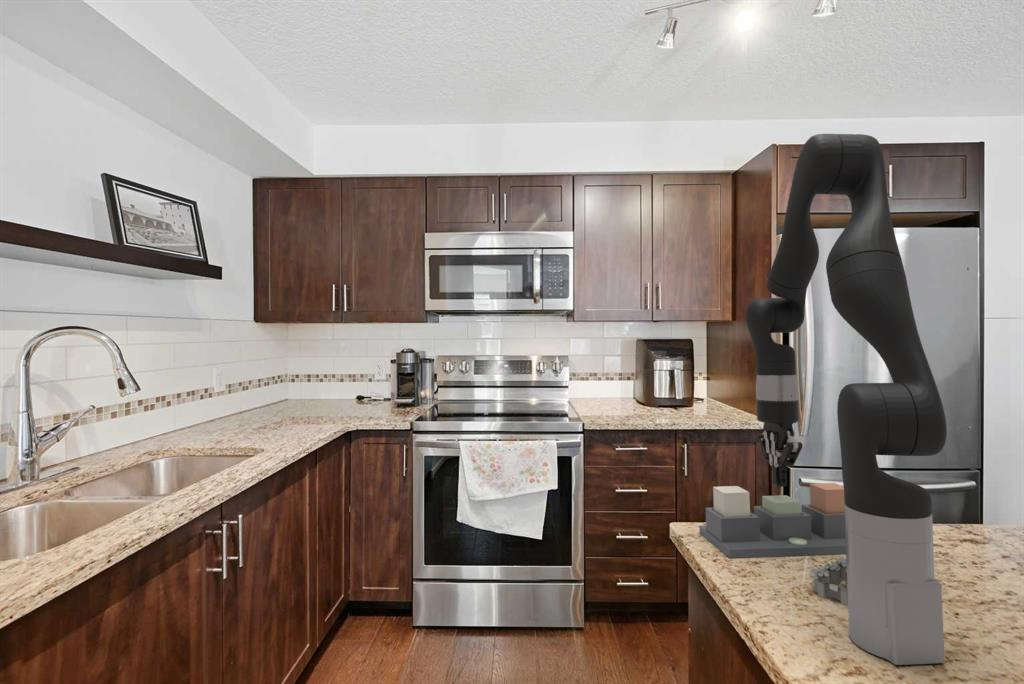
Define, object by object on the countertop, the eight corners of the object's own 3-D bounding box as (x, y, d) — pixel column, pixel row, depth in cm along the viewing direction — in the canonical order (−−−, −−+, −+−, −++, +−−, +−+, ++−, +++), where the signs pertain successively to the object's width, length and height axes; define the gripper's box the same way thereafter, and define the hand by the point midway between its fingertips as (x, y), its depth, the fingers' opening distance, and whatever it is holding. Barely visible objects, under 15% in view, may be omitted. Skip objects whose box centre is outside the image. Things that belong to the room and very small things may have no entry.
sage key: (801, 533, 104) (800, 501, 104) (776, 534, 104) (775, 502, 104) (787, 525, 109) (786, 495, 109) (763, 525, 109) (762, 496, 109)
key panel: (878, 552, 99) (877, 520, 99) (729, 558, 98) (728, 525, 98) (830, 528, 113) (829, 499, 113) (699, 532, 112) (698, 503, 112)
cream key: (750, 523, 103) (749, 492, 104) (724, 524, 103) (723, 493, 103) (738, 515, 108) (737, 485, 109) (714, 516, 108) (713, 486, 108)
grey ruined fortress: (855, 612, 78) (854, 583, 78) (804, 592, 84) (803, 566, 84) (893, 594, 83) (892, 567, 83) (842, 577, 90) (841, 552, 90)
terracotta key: (851, 520, 104) (850, 489, 104) (826, 521, 104) (825, 489, 104) (835, 512, 109) (834, 483, 109) (811, 513, 109) (809, 483, 109)
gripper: (815, 399, 100) (818, 493, 100) (777, 395, 114) (780, 477, 113) (776, 400, 100) (779, 494, 99) (742, 396, 113) (745, 478, 113)
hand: (779, 485), depth 106 cm, fingers closed
